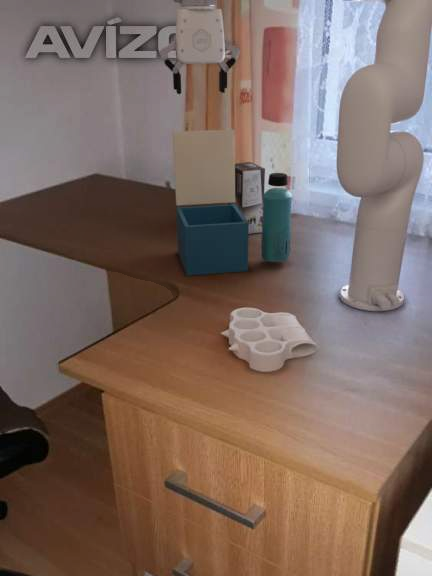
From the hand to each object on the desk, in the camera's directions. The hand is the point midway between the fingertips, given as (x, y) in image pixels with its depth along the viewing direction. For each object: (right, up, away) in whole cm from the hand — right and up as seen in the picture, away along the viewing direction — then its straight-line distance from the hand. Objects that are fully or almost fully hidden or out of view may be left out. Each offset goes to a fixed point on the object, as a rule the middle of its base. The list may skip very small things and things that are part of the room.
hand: (200, 92), depth 134 cm
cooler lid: (+1, -15, +3) cm, 16 cm away
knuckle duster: (+12, -58, -28) cm, 65 cm away
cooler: (+2, -36, +7) cm, 37 cm away
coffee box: (+11, -23, +27) cm, 38 cm away
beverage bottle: (+17, -37, +6) cm, 41 cm away
